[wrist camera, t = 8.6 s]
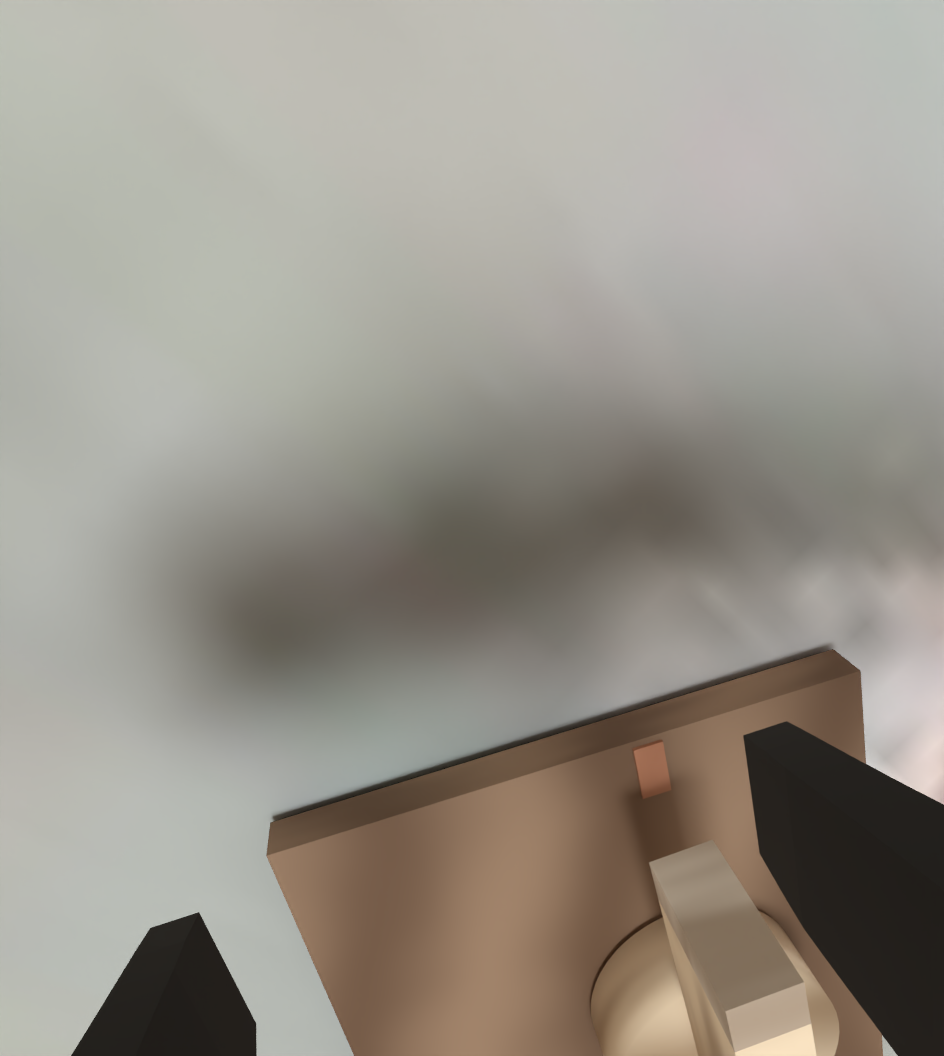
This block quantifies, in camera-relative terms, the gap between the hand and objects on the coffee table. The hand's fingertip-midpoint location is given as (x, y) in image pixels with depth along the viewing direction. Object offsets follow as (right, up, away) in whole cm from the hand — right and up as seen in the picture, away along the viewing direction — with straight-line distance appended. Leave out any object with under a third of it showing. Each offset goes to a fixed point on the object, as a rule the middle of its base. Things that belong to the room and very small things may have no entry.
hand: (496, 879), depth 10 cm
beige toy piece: (+6, -7, +12) cm, 15 cm away
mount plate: (+4, -8, +14) cm, 17 cm away
